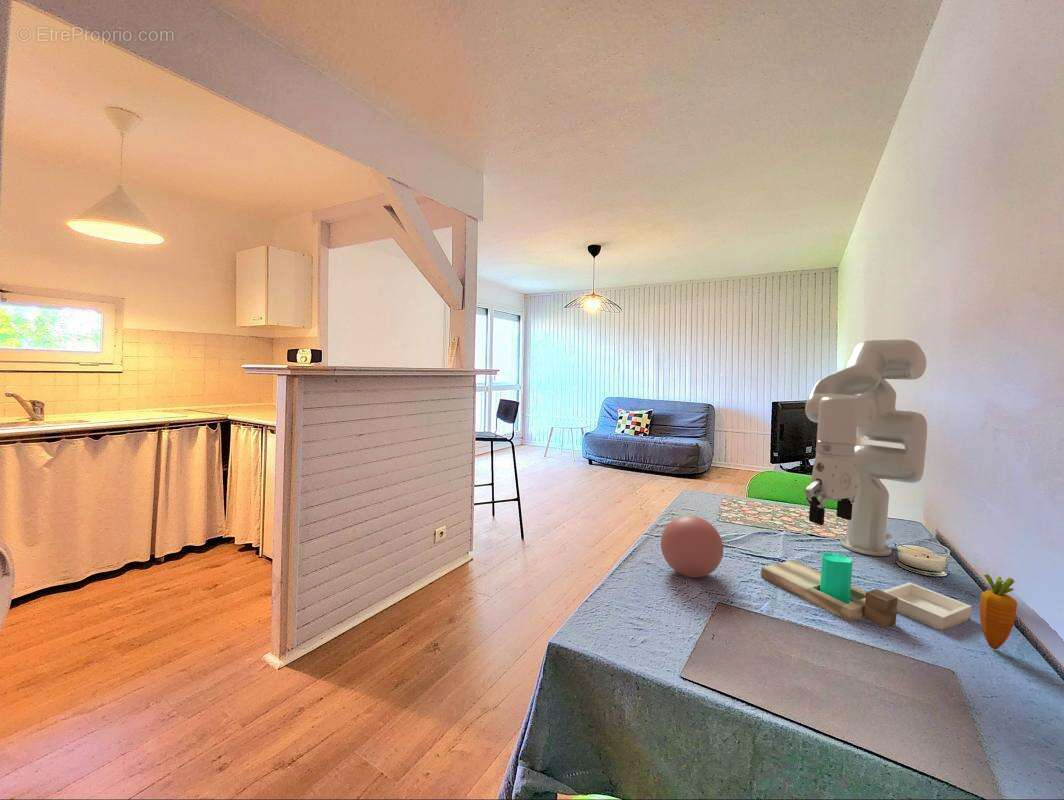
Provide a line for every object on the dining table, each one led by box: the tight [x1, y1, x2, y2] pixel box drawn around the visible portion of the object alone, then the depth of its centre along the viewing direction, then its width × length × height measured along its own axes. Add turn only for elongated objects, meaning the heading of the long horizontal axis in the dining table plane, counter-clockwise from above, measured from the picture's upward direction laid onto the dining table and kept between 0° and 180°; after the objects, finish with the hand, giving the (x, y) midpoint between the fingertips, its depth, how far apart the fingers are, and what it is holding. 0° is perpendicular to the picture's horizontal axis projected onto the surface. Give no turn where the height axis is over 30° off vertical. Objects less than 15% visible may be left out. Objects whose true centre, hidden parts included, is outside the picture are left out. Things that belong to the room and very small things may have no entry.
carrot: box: [979, 573, 1018, 650], centre depth 87 cm, size 5×5×15 cm
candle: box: [820, 550, 854, 604], centre depth 105 cm, size 6×6×12 cm
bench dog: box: [863, 588, 898, 629], centre depth 96 cm, size 4×4×6 cm
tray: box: [882, 581, 973, 632], centre depth 101 cm, size 12×12×3 cm
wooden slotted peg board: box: [760, 559, 867, 622], centre depth 109 cm, size 12×22×2 cm, turn 24°
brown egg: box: [660, 515, 724, 578], centre depth 118 cm, size 15×20×15 cm
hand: (830, 520), depth 106 cm, fingers open, 9 cm apart
